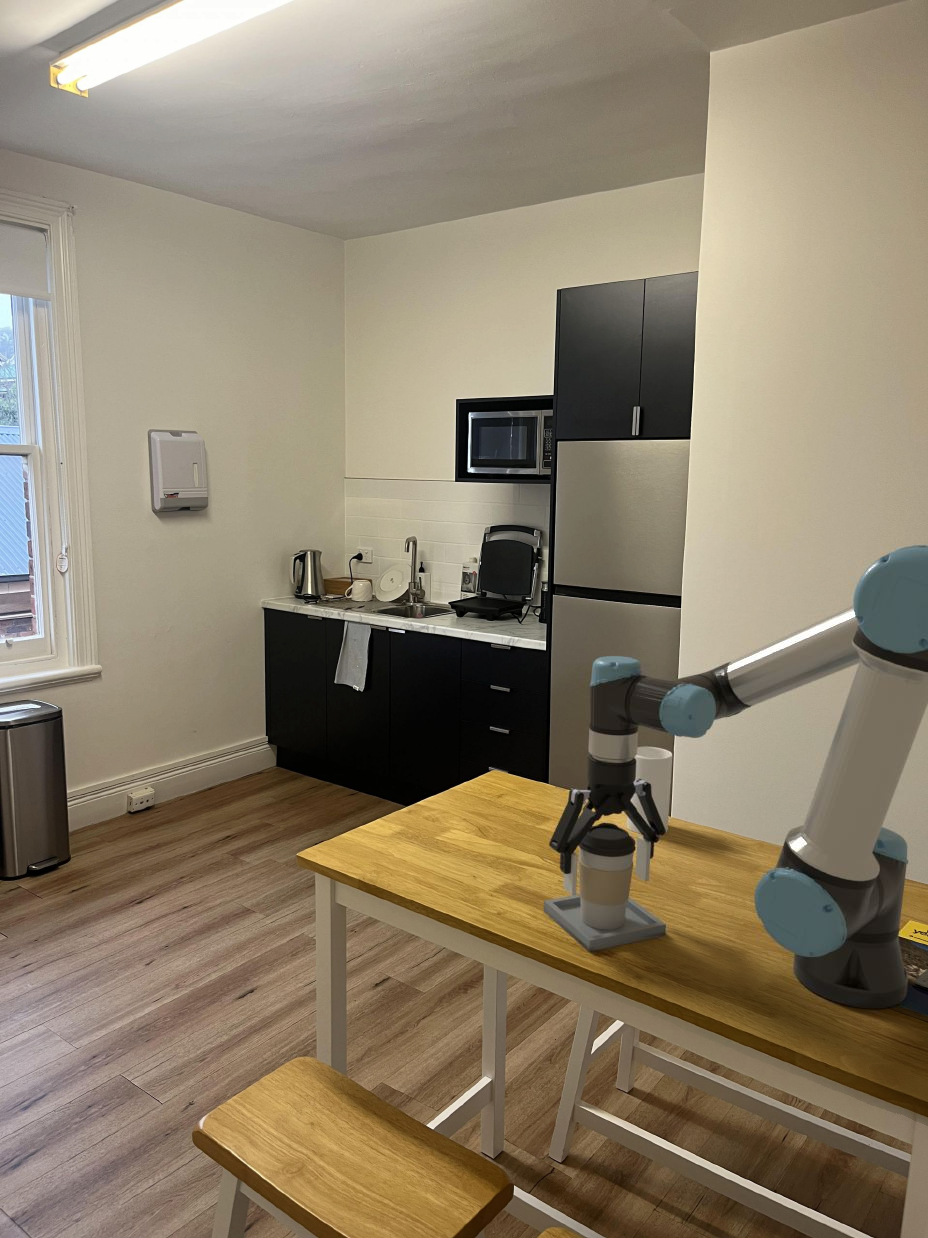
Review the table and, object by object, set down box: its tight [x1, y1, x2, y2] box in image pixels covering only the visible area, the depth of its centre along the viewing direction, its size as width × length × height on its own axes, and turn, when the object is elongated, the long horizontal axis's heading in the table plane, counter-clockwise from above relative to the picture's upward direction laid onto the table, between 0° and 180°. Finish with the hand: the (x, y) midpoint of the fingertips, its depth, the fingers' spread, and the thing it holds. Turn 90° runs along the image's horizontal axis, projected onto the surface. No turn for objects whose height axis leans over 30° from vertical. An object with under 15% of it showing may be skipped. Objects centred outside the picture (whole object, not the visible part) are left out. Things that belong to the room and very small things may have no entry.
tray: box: [543, 893, 667, 953], centre depth 146 cm, size 14×14×2 cm
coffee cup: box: [578, 822, 637, 930], centre depth 145 cm, size 9×9×15 cm
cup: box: [626, 746, 673, 835], centre depth 186 cm, size 8×8×16 cm
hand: (606, 885), depth 145 cm, fingers open, 13 cm apart
